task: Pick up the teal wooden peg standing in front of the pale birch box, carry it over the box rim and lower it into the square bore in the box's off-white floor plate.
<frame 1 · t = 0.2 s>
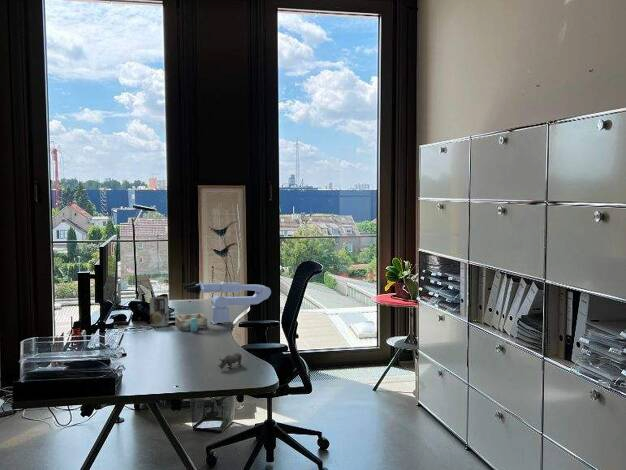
hand: (185, 288, 333), 21 cm above the table, tool horizontal, fingers open, 7 cm apart
box: (191, 326, 332), on the table
coffee box: (159, 325, 335), on the table
rhino figurine: (229, 368, 254), on the table
peg: (193, 331, 321), on the table
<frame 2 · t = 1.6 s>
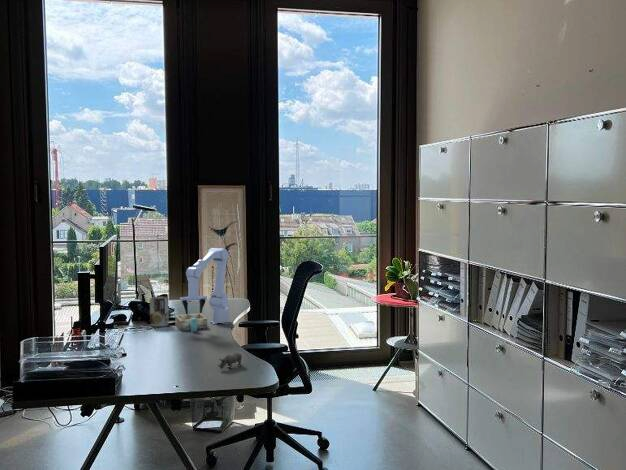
hand: (193, 313, 320), 10 cm above the table, tool pointing down, fingers open, 7 cm apart
nothing on the table moved.
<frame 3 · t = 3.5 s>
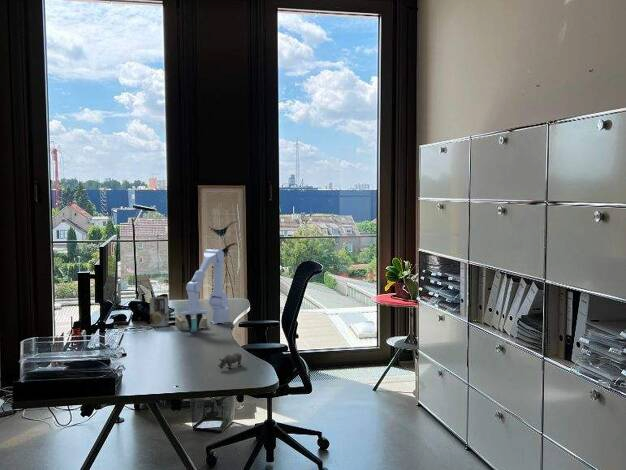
hand: (193, 327, 321), 2 cm above the table, tool pointing down, fingers closed on peg, 4 cm apart
peg: (193, 331, 321), on the table, touching gripper
everything else where it was.
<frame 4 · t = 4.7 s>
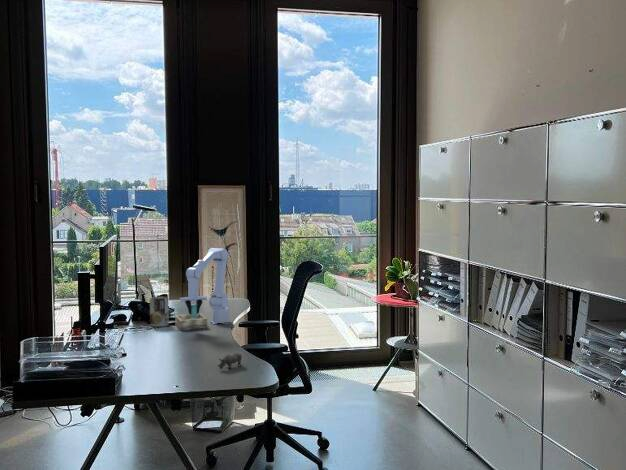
hand: (193, 313, 320), 10 cm above the table, tool pointing down, fingers closed on peg, 4 cm apart
peg: (193, 317, 320), point 8 cm above the table, touching gripper
everything else where it was.
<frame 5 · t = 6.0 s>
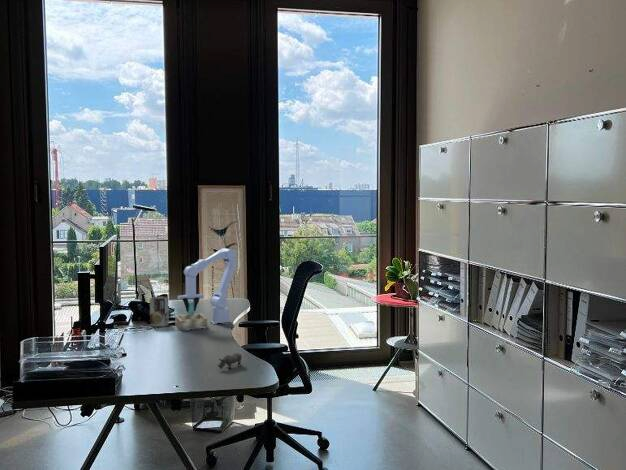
hand: (190, 311, 332), 9 cm above the table, tool pointing down, fingers closed on peg, 4 cm apart
peg: (190, 314, 332), point 7 cm above the table, touching gripper
everything else where it was.
when the fingers open (3 cm above the table, at t = 7.9 s): peg drops 1 cm, resting in box.
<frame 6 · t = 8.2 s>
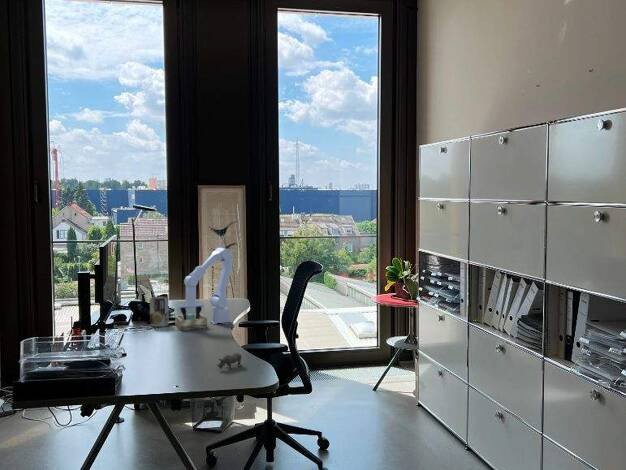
hand: (191, 320, 332), 3 cm above the table, tool pointing down, fingers open, 6 cm apart
peg: (191, 326, 332), resting in box
everything else where it was.
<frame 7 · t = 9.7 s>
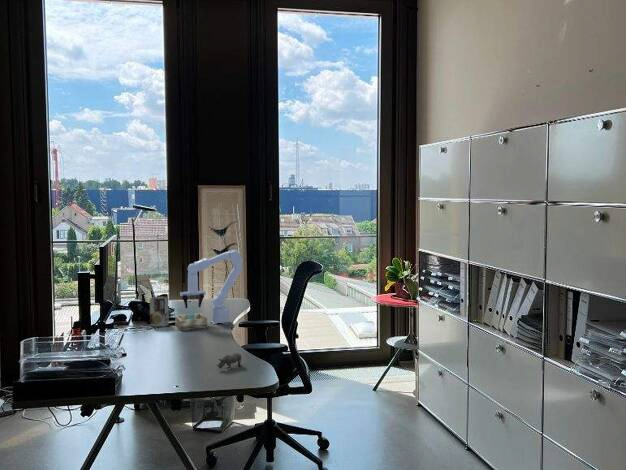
hand: (193, 307, 339), 9 cm above the table, tool pointing down, fingers open, 7 cm apart
nothing on the table moved.
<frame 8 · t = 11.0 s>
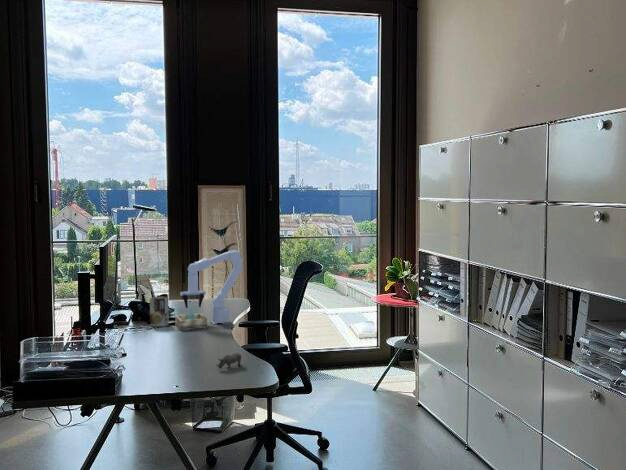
hand: (193, 307, 340), 9 cm above the table, tool pointing down, fingers open, 7 cm apart
nothing on the table moved.
at the end: peg 0.0 cm off-centre on the box, point 0.0 cm above the box's base; peg tilted 0°; the gripper is holding nothing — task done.
